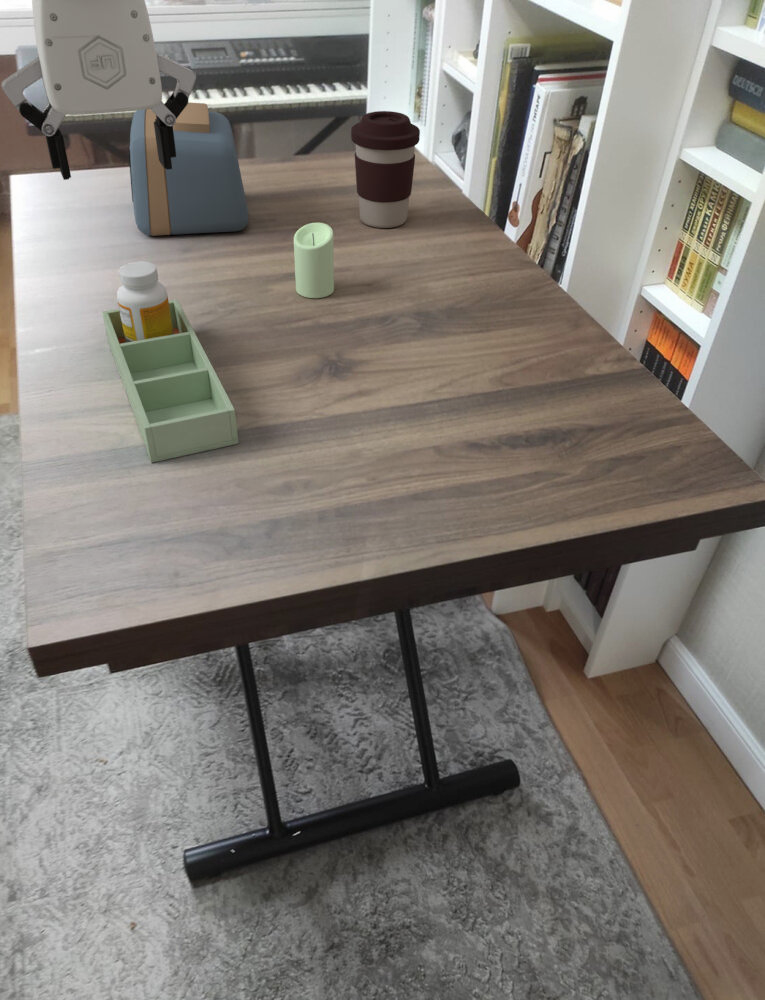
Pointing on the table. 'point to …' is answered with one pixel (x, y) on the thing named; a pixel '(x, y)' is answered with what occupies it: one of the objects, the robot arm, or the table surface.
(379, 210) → the coffee cup
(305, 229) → the candle
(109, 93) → the robot arm
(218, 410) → the tray
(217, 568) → the table surface
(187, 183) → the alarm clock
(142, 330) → the supplement bottle
